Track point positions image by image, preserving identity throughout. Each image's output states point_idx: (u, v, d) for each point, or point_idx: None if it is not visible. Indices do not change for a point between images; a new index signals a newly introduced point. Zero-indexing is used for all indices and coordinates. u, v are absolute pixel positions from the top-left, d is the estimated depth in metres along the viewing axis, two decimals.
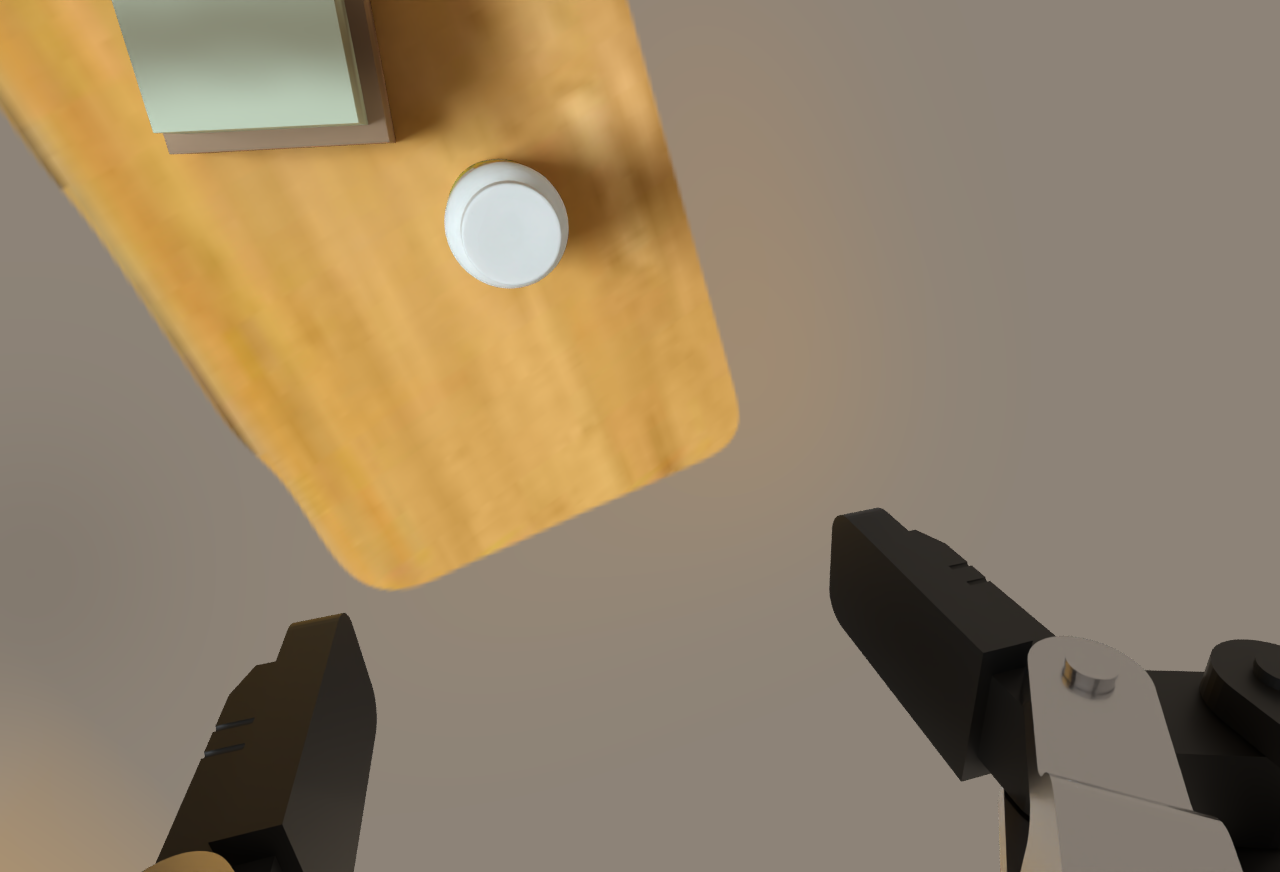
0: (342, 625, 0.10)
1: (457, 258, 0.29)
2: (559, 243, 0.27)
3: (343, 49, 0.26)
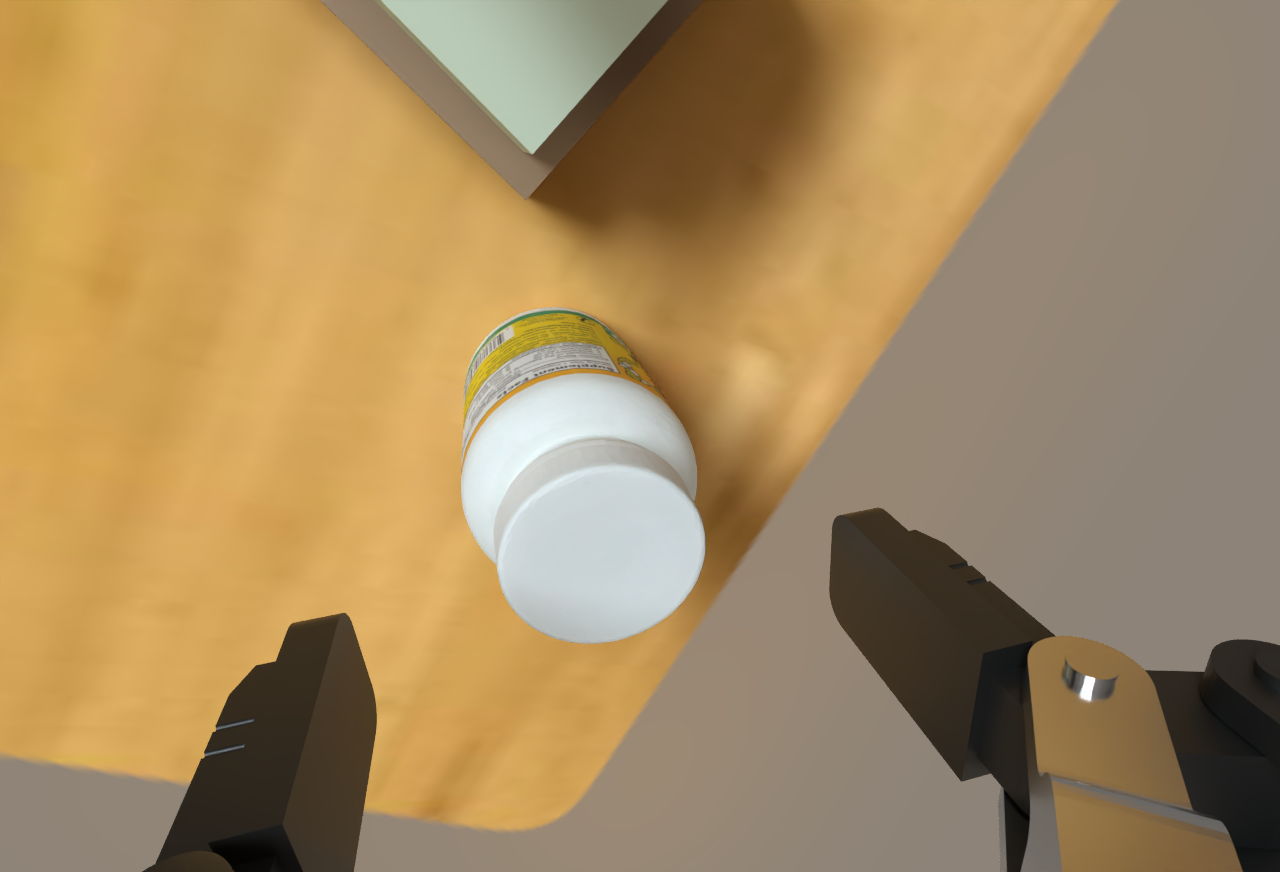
0: (342, 625, 0.10)
1: (469, 469, 0.14)
2: (654, 623, 0.14)
3: (625, 46, 0.13)
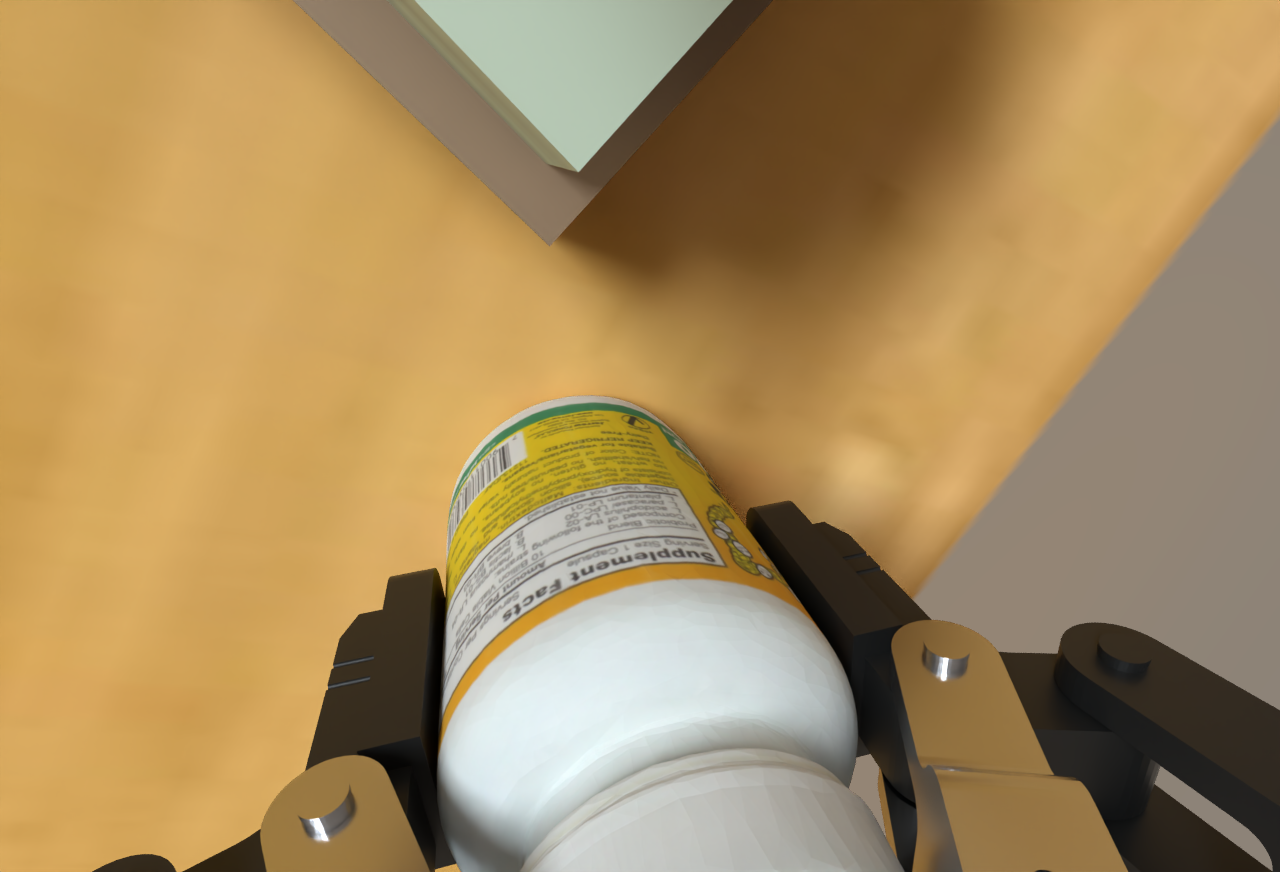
0: (435, 578, 0.11)
1: (451, 772, 0.07)
2: None
3: None
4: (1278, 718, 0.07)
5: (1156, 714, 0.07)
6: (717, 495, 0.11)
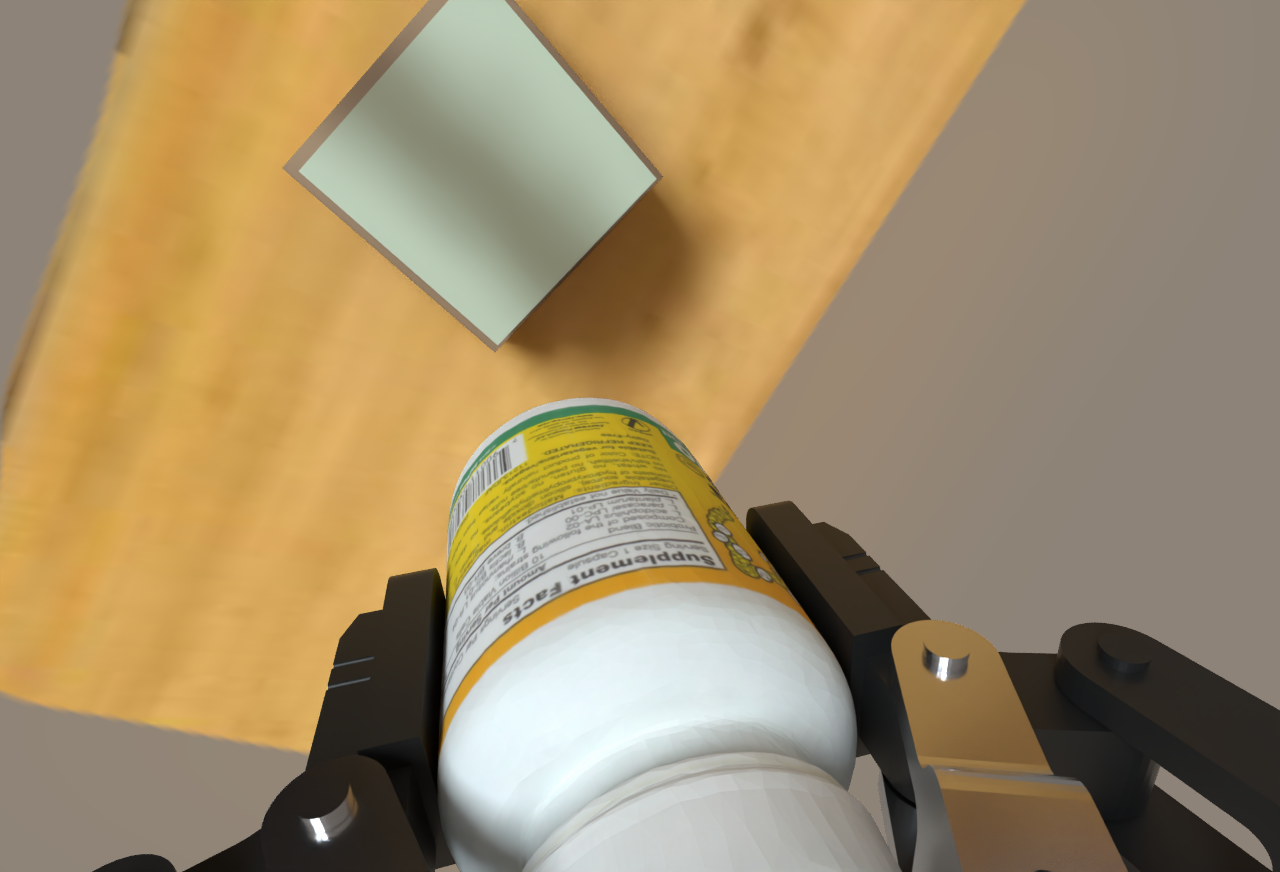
0: (435, 578, 0.11)
1: (452, 775, 0.07)
2: None
3: (551, 288, 0.22)
4: (1278, 718, 0.07)
5: (1156, 714, 0.07)
6: (717, 498, 0.11)
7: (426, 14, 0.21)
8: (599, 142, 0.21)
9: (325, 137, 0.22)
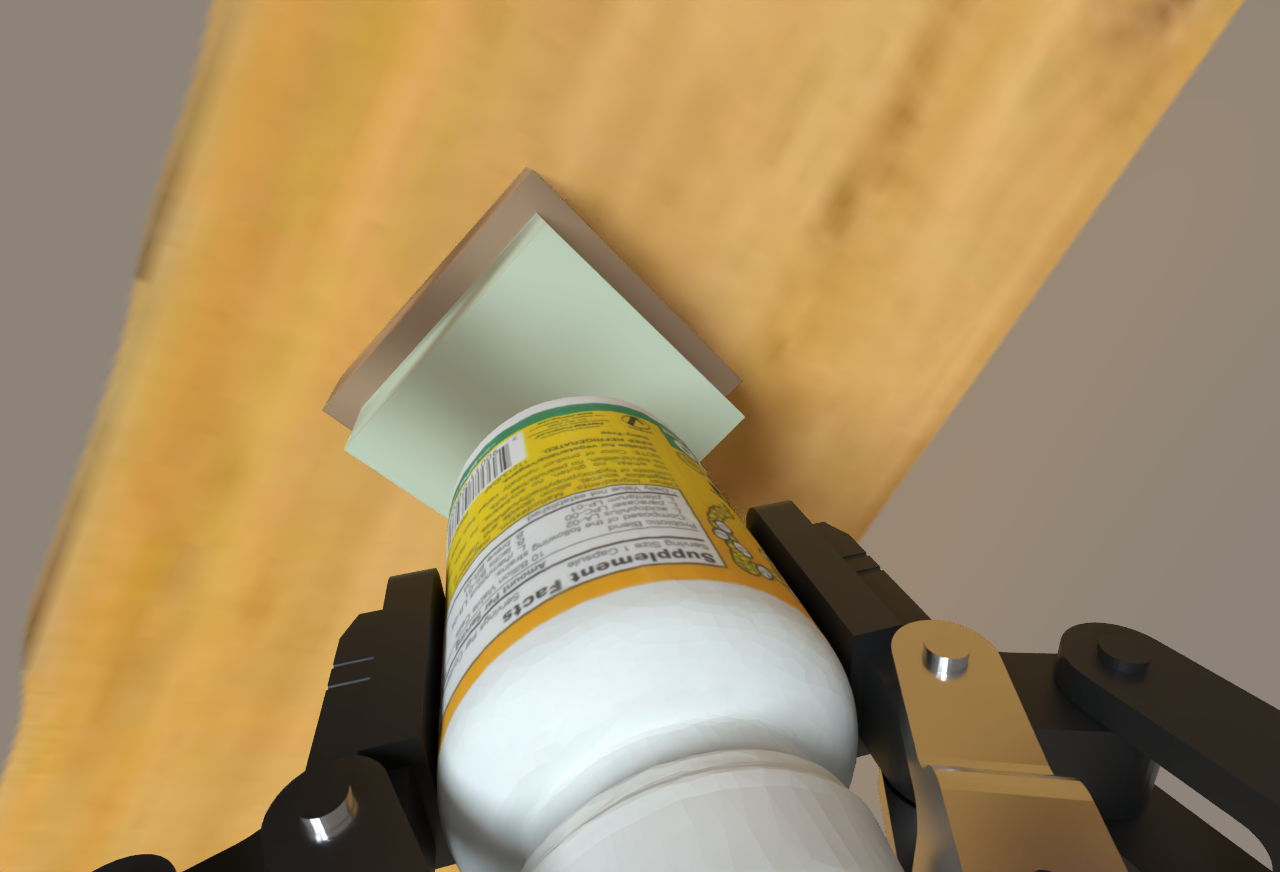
0: (435, 578, 0.11)
1: (451, 773, 0.07)
2: None
3: None
4: (1279, 718, 0.07)
5: (1156, 714, 0.07)
6: (717, 496, 0.11)
7: (482, 241, 0.18)
8: (682, 387, 0.18)
9: (369, 375, 0.19)
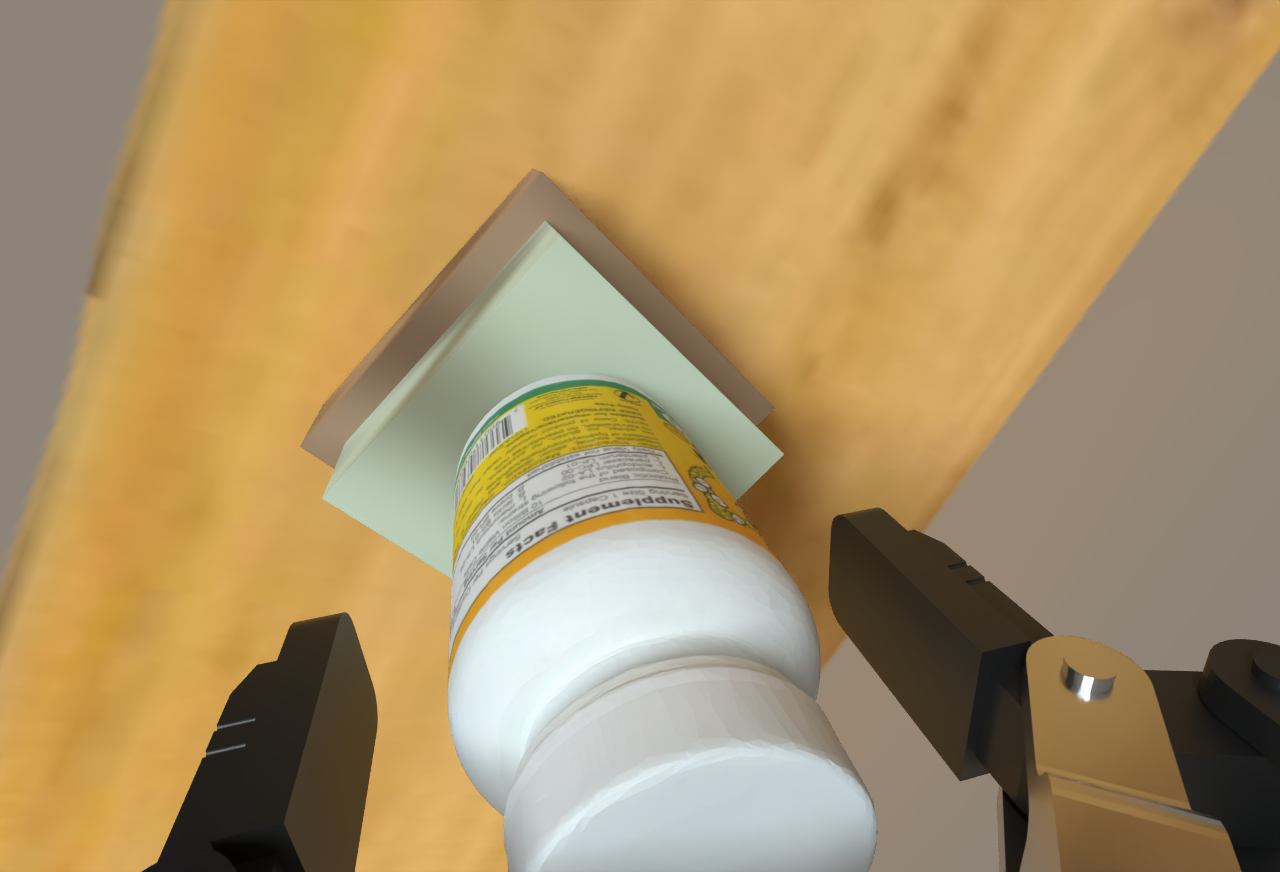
0: (343, 624, 0.10)
1: (461, 685, 0.08)
2: None
3: None
4: None
5: None
6: (700, 459, 0.12)
7: (483, 253, 0.16)
8: (713, 422, 0.16)
9: (354, 406, 0.17)
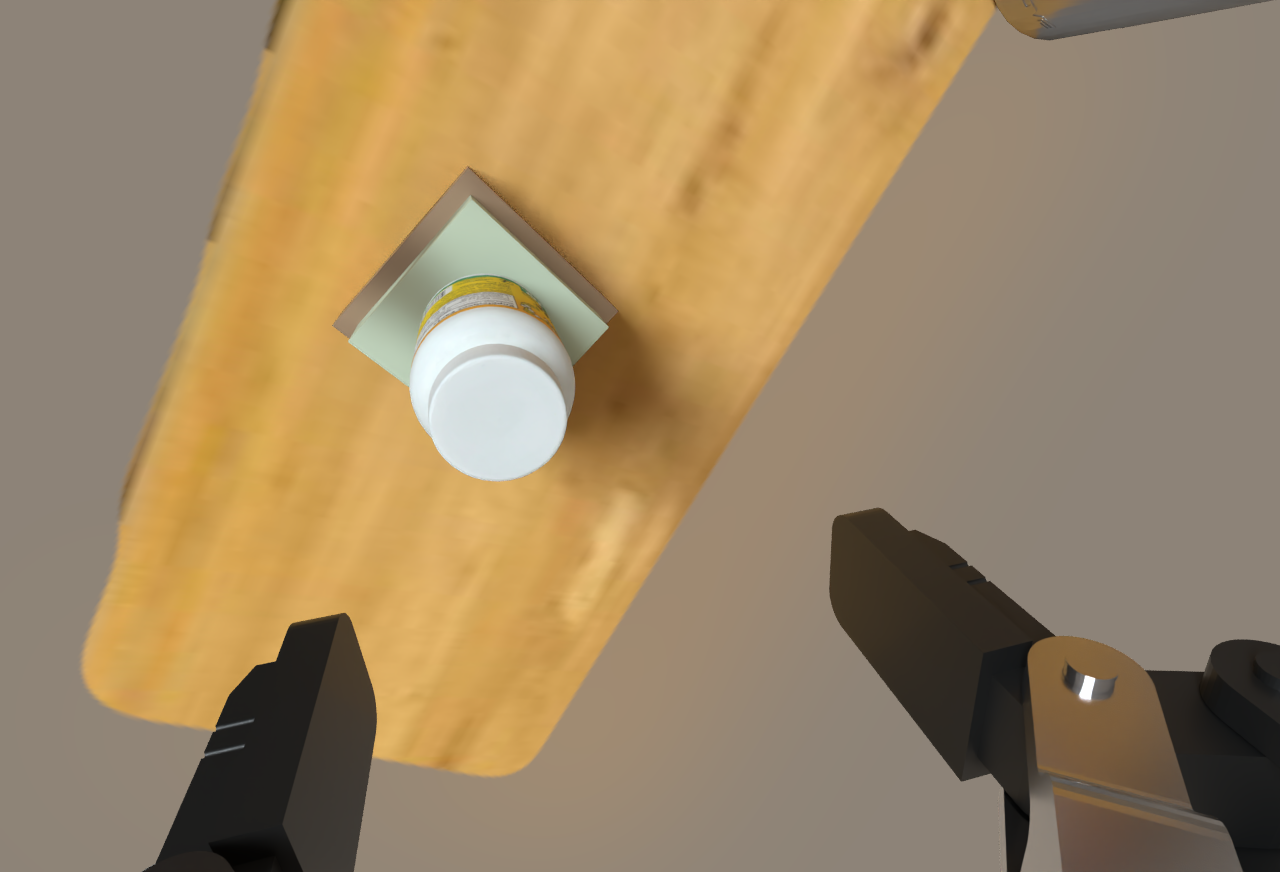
0: (342, 625, 0.10)
1: (414, 370, 0.21)
2: (536, 468, 0.20)
3: None
4: None
5: None
6: (535, 305, 0.24)
7: (435, 213, 0.29)
8: (564, 306, 0.28)
9: (363, 302, 0.29)
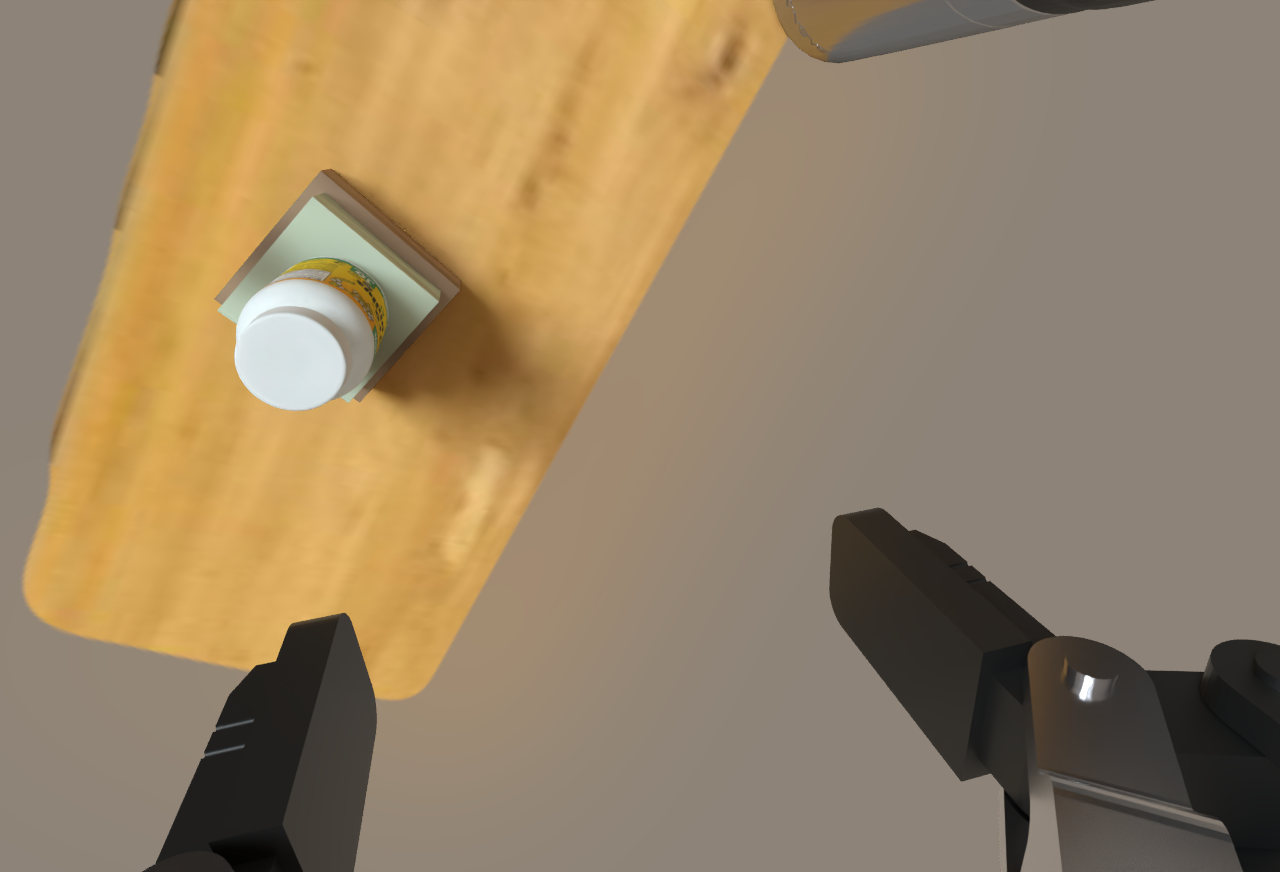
0: (342, 625, 0.10)
1: (237, 327, 0.28)
2: (325, 401, 0.27)
3: (379, 368, 0.36)
4: None
5: None
6: (354, 280, 0.31)
7: (295, 207, 0.35)
8: (398, 283, 0.35)
9: (239, 280, 0.36)
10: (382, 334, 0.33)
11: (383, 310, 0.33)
